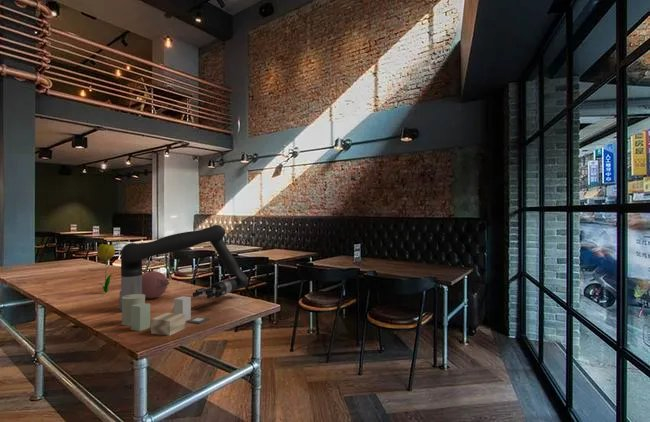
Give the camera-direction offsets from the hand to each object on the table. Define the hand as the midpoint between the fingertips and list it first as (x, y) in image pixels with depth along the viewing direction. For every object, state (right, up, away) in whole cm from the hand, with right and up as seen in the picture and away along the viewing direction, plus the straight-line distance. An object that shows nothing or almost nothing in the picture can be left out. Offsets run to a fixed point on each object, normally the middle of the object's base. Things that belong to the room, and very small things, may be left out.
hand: (200, 295), depth 161 cm
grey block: (-4, -8, -11) cm, 14 cm away
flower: (-72, -9, +39) cm, 83 cm away
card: (+4, -8, -13) cm, 16 cm away
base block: (-4, -8, -25) cm, 26 cm away
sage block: (-17, -8, -22) cm, 29 cm away
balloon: (-36, -9, +27) cm, 46 cm away
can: (-24, -8, -14) cm, 29 cm away
